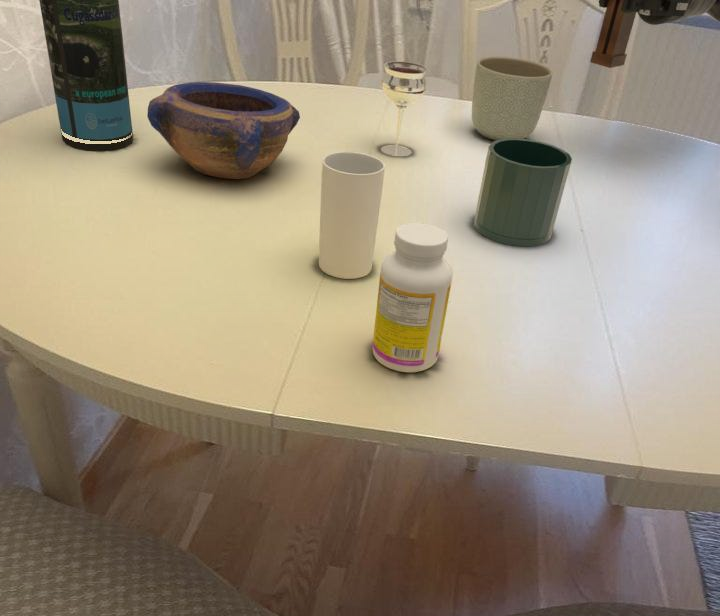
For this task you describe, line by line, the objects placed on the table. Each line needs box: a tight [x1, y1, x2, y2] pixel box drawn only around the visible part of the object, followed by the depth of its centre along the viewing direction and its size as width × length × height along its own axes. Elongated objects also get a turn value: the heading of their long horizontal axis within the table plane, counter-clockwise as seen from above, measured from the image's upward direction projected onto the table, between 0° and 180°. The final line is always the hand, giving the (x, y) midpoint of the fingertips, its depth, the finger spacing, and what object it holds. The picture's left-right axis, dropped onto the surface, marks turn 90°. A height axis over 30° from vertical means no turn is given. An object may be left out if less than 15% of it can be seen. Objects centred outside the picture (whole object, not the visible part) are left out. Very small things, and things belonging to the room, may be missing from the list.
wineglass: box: [380, 60, 429, 157], centre depth 116 cm, size 7×7×12 cm
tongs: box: [589, 0, 637, 69], centre depth 109 cm, size 4×4×15 cm
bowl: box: [146, 81, 301, 180], centre depth 105 cm, size 18×18×10 cm
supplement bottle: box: [372, 222, 453, 373], centre depth 71 cm, size 7×7×13 cm
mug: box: [318, 151, 386, 280], centre depth 86 cm, size 10×7×12 cm, turn 157°
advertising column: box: [38, 0, 134, 153], centre depth 102 cm, size 11×11×30 cm
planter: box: [471, 55, 553, 141], centre depth 127 cm, size 12×12×11 cm
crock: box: [473, 138, 573, 247], centre depth 98 cm, size 10×10×10 cm
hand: (614, 1), depth 107 cm, fingers closed on tongs, 3 cm apart
